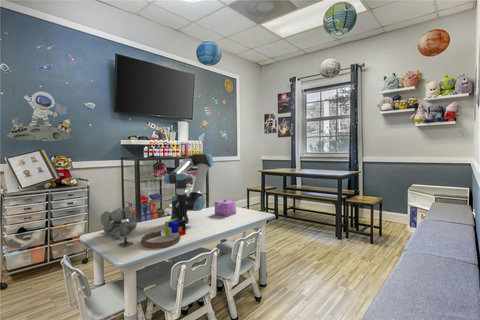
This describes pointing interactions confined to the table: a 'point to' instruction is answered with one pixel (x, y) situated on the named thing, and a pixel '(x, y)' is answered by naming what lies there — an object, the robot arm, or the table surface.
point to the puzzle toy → (175, 228)
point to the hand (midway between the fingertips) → (182, 225)
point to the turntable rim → (158, 244)
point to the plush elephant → (116, 222)
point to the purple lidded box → (225, 207)
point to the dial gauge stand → (126, 233)
